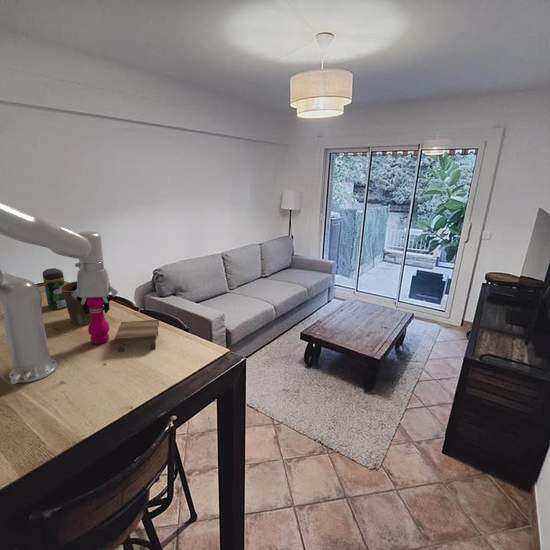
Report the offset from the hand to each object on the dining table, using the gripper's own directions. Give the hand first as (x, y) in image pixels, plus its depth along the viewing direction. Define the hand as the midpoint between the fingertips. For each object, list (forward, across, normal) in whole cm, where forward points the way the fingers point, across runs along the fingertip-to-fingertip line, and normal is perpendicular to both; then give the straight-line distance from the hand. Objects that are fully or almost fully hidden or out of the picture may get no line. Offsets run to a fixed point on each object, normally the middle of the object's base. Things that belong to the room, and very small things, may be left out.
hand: (97, 312), depth 121 cm
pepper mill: (+12, 0, 0) cm, 12 cm away
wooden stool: (+12, +14, -4) cm, 19 cm away
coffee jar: (+12, -28, +40) cm, 50 cm away
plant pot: (+12, -10, +22) cm, 28 cm away
